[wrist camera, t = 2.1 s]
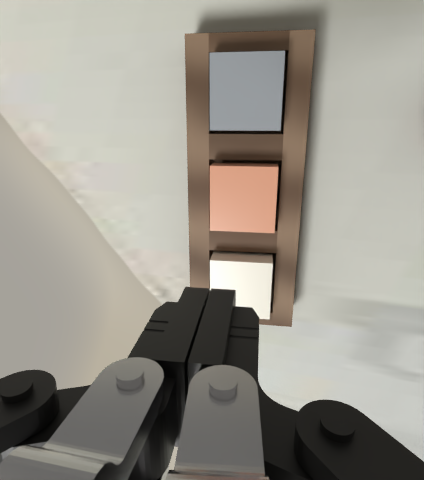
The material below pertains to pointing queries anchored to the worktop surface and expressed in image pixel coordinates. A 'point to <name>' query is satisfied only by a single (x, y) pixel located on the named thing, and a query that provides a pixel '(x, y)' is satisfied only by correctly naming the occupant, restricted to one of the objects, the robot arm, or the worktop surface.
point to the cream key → (244, 278)
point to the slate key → (246, 90)
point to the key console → (249, 158)
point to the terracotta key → (243, 197)
